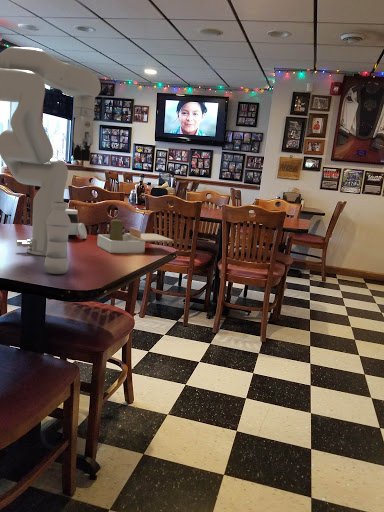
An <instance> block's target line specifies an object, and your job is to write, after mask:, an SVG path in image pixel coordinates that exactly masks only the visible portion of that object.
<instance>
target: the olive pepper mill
mask: <svg viewBox="0 0 384 512" xmlns="http://www.w3.org/2000/svg"><path fill="white" fill-rule="evenodd" d="M109 225H110V227H111V229H110V234H109V235H110V238H109V239H110V240H112V241H123V235H124V233H123V228H124V227H125V222H124V220H121V219H115V218H114V219H111V221H110V224H109Z"/></svg>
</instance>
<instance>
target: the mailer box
mask: <svg viewBox="0 0 384 512" xmlns="http://www.w3.org/2000/svg"><path fill="white" fill-rule="evenodd" d="M109 238H110V234H97V241H96V242H97V244H96V246H97V247H99V248H100V249H102V250H103V251H106V252H107V253H109V254H137V253H138V254H139V253H141V254H144V253H145V248H146V241H139V240H137V239H134V238H132V237H130V236H127V235H125V234H123V241H112V240H110V239H109Z"/></svg>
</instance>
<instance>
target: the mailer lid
mask: <svg viewBox="0 0 384 512" xmlns="http://www.w3.org/2000/svg"><path fill="white" fill-rule="evenodd" d="M124 235H127V236H130V237H132V238H134V239H137V240H139V241H145V242H173V241H174V240H173V239H171V238H169V237H165V236H163V235H160V234H157V233H142V230H140V229H138V228H136V227H133V226H130V227H129V232H127V233H124Z"/></svg>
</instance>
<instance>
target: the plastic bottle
mask: <svg viewBox="0 0 384 512" xmlns="http://www.w3.org/2000/svg"><path fill="white" fill-rule="evenodd" d="M52 208H53V211H52V212H51V213H50V214H49V216H48V217H47V220H46V224H47V234H48V246H47V254H46V256H45V259H44V265H43V266H44V270H45V272H46V273H48V274H52V275H62V274H66V273H67V271H68V269H69V263H70V262H69V256H68V240H69V238H68V234H69V229H70V223H71V222H70V218H69V216H68V215H67V213H66V212H65V210H66V209H67V202H65V201H63V202H58V201H53V202H52Z"/></svg>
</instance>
